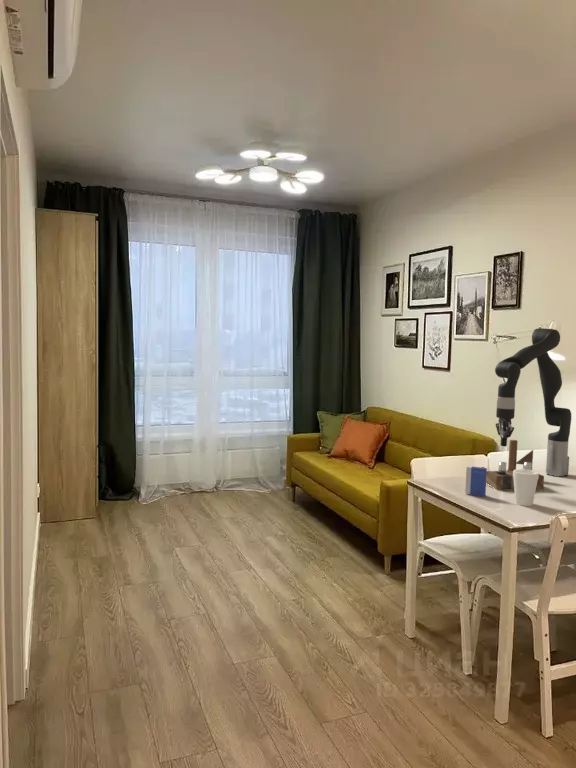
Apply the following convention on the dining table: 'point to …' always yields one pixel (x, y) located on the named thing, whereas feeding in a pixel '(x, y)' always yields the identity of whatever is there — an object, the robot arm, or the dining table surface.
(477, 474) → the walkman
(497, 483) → the band block
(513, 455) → the wooden post with wedge
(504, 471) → the peg outer
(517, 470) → the foam cup
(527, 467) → the peg inner
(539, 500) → the dining table surface
